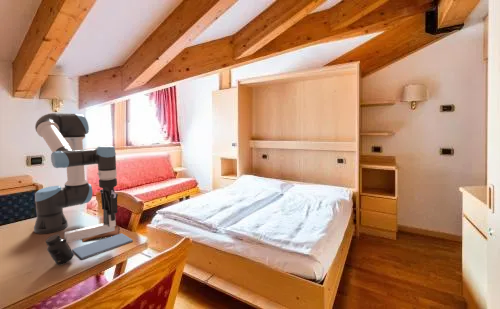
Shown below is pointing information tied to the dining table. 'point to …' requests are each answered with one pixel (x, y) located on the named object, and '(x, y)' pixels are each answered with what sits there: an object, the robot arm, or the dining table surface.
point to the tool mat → (101, 246)
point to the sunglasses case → (103, 234)
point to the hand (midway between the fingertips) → (110, 225)
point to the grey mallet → (90, 229)
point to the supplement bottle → (59, 249)
